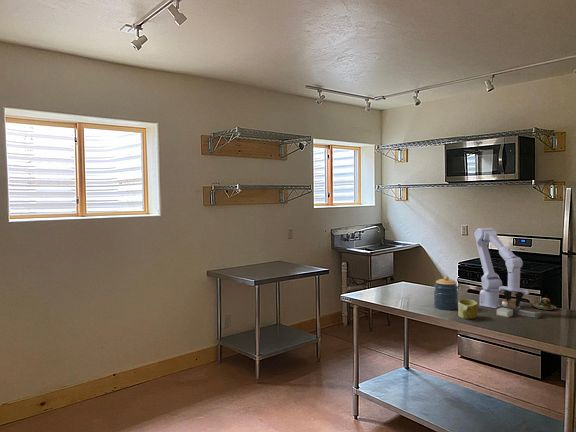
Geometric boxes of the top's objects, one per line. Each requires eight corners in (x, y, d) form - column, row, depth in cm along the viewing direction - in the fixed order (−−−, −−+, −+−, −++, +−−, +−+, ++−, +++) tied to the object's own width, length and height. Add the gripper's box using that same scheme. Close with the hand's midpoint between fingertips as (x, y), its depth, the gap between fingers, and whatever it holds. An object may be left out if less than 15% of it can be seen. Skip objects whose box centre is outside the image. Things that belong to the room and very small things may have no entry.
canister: (460, 310, 246) (460, 278, 245) (435, 309, 248) (435, 277, 248) (456, 305, 258) (456, 274, 258) (432, 304, 261) (432, 273, 260)
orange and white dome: (501, 305, 236) (501, 301, 236) (503, 304, 238) (503, 300, 238) (506, 306, 235) (506, 301, 234) (508, 305, 236) (508, 301, 236)
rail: (501, 311, 243) (501, 307, 243) (505, 310, 247) (505, 305, 246) (537, 318, 230) (537, 313, 230) (541, 316, 233) (541, 311, 233)
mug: (459, 309, 242) (463, 293, 238) (477, 318, 236) (483, 302, 232) (449, 318, 233) (454, 302, 229) (468, 327, 227) (474, 311, 223)
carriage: (505, 312, 241) (506, 299, 241) (510, 310, 245) (510, 297, 245) (515, 314, 237) (516, 301, 237) (520, 312, 241) (520, 299, 241)
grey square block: (496, 315, 237) (496, 309, 237) (501, 313, 241) (501, 307, 241) (508, 317, 232) (508, 311, 232) (512, 315, 236) (513, 309, 236)
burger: (527, 307, 254) (527, 294, 253) (542, 305, 258) (543, 292, 257) (546, 312, 242) (546, 298, 242) (562, 310, 247) (562, 296, 246)
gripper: (496, 279, 243) (496, 304, 244) (525, 283, 232) (524, 309, 233) (502, 277, 248) (501, 302, 248) (530, 281, 237) (530, 307, 238)
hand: (513, 305), depth 241 cm, fingers closed on carriage, 4 cm apart
